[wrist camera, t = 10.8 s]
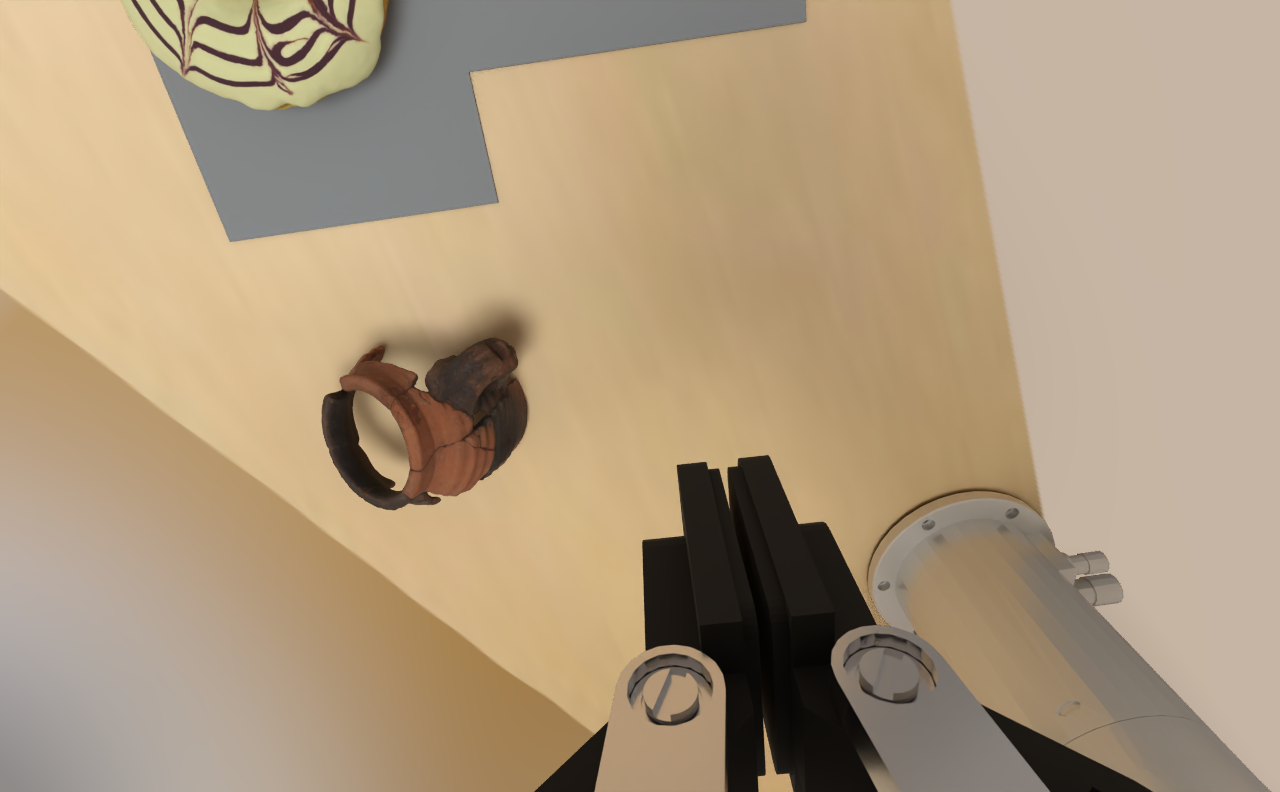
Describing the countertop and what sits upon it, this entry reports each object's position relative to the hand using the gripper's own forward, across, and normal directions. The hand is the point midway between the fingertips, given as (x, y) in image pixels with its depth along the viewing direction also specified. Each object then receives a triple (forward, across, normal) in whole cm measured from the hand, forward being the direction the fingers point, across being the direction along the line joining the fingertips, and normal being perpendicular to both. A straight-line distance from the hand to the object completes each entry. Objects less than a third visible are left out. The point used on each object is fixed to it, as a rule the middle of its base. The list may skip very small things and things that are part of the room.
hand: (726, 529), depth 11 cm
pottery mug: (+25, +13, +6) cm, 28 cm away
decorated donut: (+24, +16, -15) cm, 32 cm away
